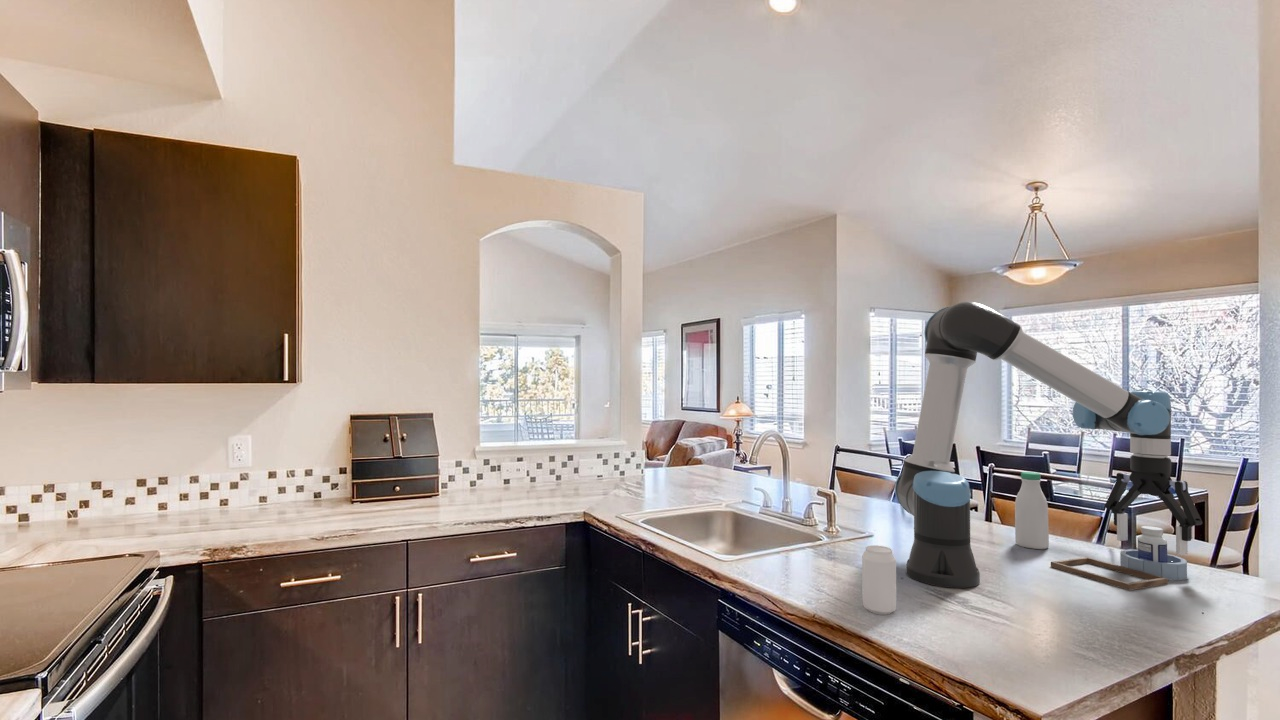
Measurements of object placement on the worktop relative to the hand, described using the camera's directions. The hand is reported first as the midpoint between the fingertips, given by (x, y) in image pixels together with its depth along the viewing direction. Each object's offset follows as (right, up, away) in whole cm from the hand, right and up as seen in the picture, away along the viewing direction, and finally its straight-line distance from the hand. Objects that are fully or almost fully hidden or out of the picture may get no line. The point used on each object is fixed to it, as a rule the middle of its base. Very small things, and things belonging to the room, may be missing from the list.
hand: (1150, 547), depth 145 cm
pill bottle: (0, -5, 0) cm, 5 cm away
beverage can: (-74, -5, -25) cm, 79 cm away
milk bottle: (-14, -7, +22) cm, 27 cm away
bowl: (0, -6, 0) cm, 6 cm away
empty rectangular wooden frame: (-13, -6, -3) cm, 14 cm away
